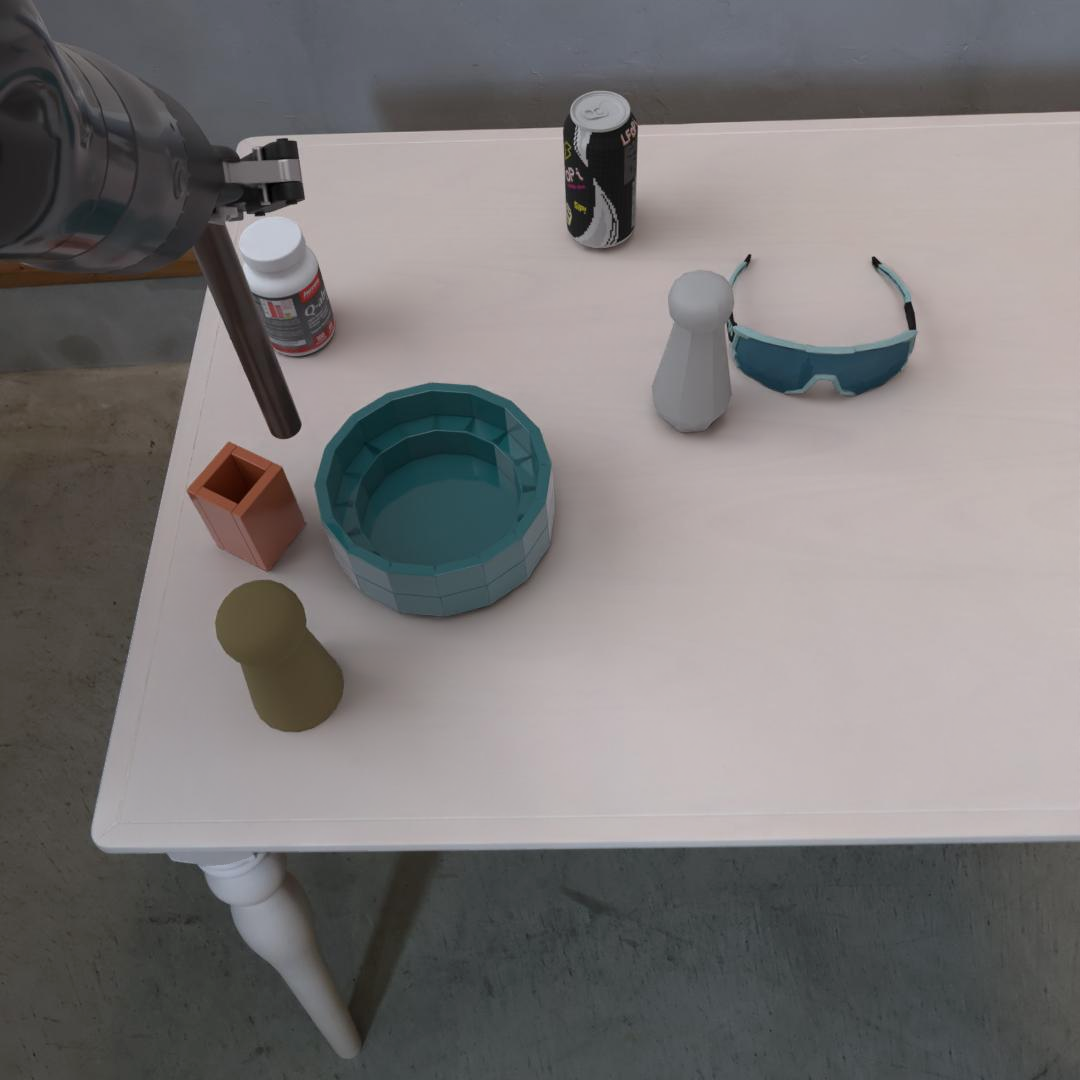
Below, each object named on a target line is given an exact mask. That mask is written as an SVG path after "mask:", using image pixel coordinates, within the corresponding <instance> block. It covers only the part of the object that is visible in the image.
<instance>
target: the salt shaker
mask: <svg viewBox="0 0 1080 1080" xmlns="http://www.w3.org/2000/svg"><path fill="white" fill-rule="evenodd" d="M728 281H729V280H728V279H726V278H725V276H723V275H721V274H719V273H716V272H714V271H712V270H706V269H695V270H693V271H689V272H688V271H687V272H684V273H683V274H682V275H680V276H679V277H677V278H675V279H674V281H673V283H672V285H671V287H670V289H669V293H668V295H667V303H668V305H667V306H668V313H669V316H670V318H671V319H672V320H673V321H674V322H673V325H672V326H671V327H672V328H671V330H670V334H669V336H668V339H667V343H666V346H665V348H664V351H663V354H662V357H661V359H660V362H659V364H658V367H657V370H656V373H655V375H654V378H653V382H652V384H651V397H652V402H653V406H654V407H655V409H656V410H657V411H658V413H659V414H660V416H661V417H662V419H663V420H664V421H666V422H667V423H668V424H669V425H670V426H672V427H673V428H674V429H676V430H677V431H678V432H679V433H680V434H681V433H694V432H695V433H697V432H706V431H707V429H708V428H709V427H710V426H711V424H712V423H713V422H714V421H716V420H717V419H718V418H719V417H721V416H722V415H724V413H725V412H726V410H727V408H728V406H729V404H730V401H731V398H732V396H733V393H732V392H733V391H732V383H731V373H730V364H729V356H728V348H727V347H728V346H727V338H726V329H725V324H727V321H728V319H729V317H730V315H731V313H732V311H733V312H734V308H735V295H734V291H733V288H732V286H731V284H730V283H729V282H728Z"/></svg>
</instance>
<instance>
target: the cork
mask: <svg viewBox="0 0 1080 1080" xmlns="http://www.w3.org/2000/svg"><path fill="white" fill-rule="evenodd" d="M305 609H306V608H305V607H304V605H303V602H302V601H301V599H300V597H298V594H297V593H296V592H295V591H293V590H292V589H290V588H289V587H288V586H286V585H285V584H284V583H282V582H278V581H275V580H272V579H255V580H251V581H248V582H244V583H242V584H240V585H239V586H237V587H235V588H233V589H232V590H231V591H230V592H229V593H228V594H227V595H226V596H225V597H224V599H223V600H222V602H221V603H220V605H219V607H218V609H217V611H216V614H215V620H214V625H215V633H216V639H217V641H218V643H219V644H220V647H221V648H222V649H223V651H224V652H225V654H226V655H227V656H229V657H230V658H231V659H232V660H233V661H235V662H237V663H238V664H239V665H240V667H241V671H242V674H243V677H244V680H245V683H246V687H247V691H248V693H249V696H250V699H251V702H252V705H253V708H254V710H255V712H256V714H257V715H258V717H259V718H260V719H259V720H261V721H262V722H263V723H265V724H266V725H267V726H269V727H270V728H272V729H275V730H278V731H280V732H283V733H284V732H285V733H300V732H303V731H307V730H310V729H314V728H315V727H317V726H318V725H320V724H322V723H324V722H325V721H326V720H327V719H329V717H330V716H331V715H332V714H333V713H334V712H335V711H336V709H337V708H338V706H339V704H340V702H341V700H342V698H343V693H344V686H345V680H344V675H343V670H342V668H341V667H340V666H339V664H338V663H337V660H335V658H334V657H333V656H332V655H331V654H330V652H329V651H328V650H327V649H326V648H325V646H324V645H323V644H322V643H321V642H320V641H319V639H318V638H317V637H316V636H315V635H314V634H313V632H312V631H311V630H310V629H309V628H308V627H307V624H308V623H307V615H306V610H305Z"/></svg>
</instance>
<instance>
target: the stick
mask: <svg viewBox="0 0 1080 1080" xmlns="http://www.w3.org/2000/svg"><path fill="white" fill-rule="evenodd" d="M191 250H192V252H193V254H194V257H195V259H196V262H197V263H198V266H199V269H200V271H201V274H202V275H203V278H204V280H205V282H206V285H207V287H208V290H209V292H210V295H211V297H212V298H213V301H214V304H215V306H216V308H217V312H218V313H219V316H220V318H221V320H222V322H223V325H224V328H225V329H226V332H227V334H228V337H229V339H230V341H231V343H232V346H233V348H234V350H235V353H236V355H237V358H238V360H239V363H240V364H241V367H242V370H243V371H244V374H245V376H246V378H247V381H248V383H249V386H250V388H251V390H252V393H253V396H254V397H255V399H256V402H257V404H258V407H259V409H260V411H261V414H262V416H263V419H264V421H265V424H266V425H267V428H268V430H269V432H270V434H271V436H273V437H274V438H276V439H278V440H289V439H291V438H293V437H296V435H298V434H299V432H300V431H301V429H302V425H303V422H302V419H301V417H300V415H299V414H300V413H299V412H298V408H297V407H296V404H295V402H294V399H293V396H292V394H291V391H290V389H289V385H288V383H287V380H286V378H285V375H284V373H283V370H282V367H281V365H280V362H279V360H278V359H279V358H277V357H278V356H277V354H276V351H275V350H274V349H273V346H272V344H271V341H270V338H269V336H268V333H267V331H266V328H265V325H264V323H263V320H262V318H261V315H260V312H259V310H258V307H257V305H256V302H255V299H254V297H253V294H252V292H251V289H250V286H249V284H248V281H247V279H246V276H245V273H244V271H243V265H242V263H241V261H240V258H239V255H238V253H237V250H236V248H235V245H234V242H233V240H232V237H231V234H230V232H229V229H228V226H227V224H226V223H225V225H218V226H209V227H206V228H205V230H204V231H203V233H202V235H201V236H200V238H199V239H198V240H197V242H196V243H195V244H194V245H193V246H192V248H191Z"/></svg>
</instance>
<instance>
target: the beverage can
mask: <svg viewBox="0 0 1080 1080" xmlns="http://www.w3.org/2000/svg"><path fill="white" fill-rule="evenodd" d="M638 125H639V124H638V121H637V119H636V116H635V114H634V113H633V112H632V111H631V105H630V103H629V102H628V100H627V99H626V98H625V96H624V97H623V95H621V94H619V93H616V92H613V91H610V90H609V91H608V90H593V91H590V92H587V93H584V94H582V95H580V96H578V97H577V98H576V99H574V101H573V103H572V104H571V106H570V111H569V113H568V114H567V116H566V118H565V119H564V123H563V128H562V140H563V165H564V167H563V168H564V187H565V188H564V193H565V217H566V219H565V220H566V229H567V231H568V234H569V235H570V236H571V238H572V239H573V240H575V241H576V243H578V244H581V245H582V246H586V247H588V248H593V249H608V248H612V247H616V246H618V245H620V244H622V243H624V242H625V241H626V240H627V239H629V238H630V237H631V235H632V234H633V233H634V230H635V228H636V214H637V212H636V210H637V208H636V207H637V181H638V180H637V176H638V174H637V173H638V169H637V168H638V143H639V141H638V139H639V138H638V137H639V126H638Z"/></svg>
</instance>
